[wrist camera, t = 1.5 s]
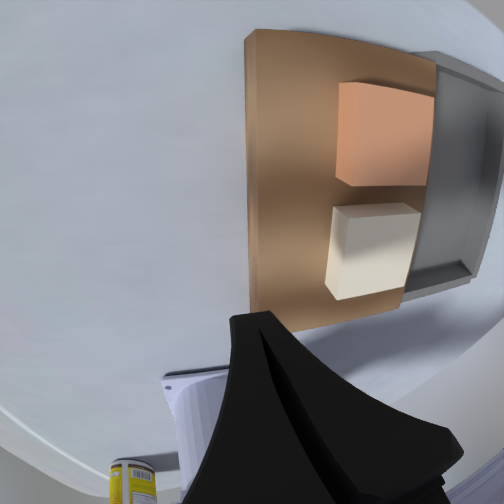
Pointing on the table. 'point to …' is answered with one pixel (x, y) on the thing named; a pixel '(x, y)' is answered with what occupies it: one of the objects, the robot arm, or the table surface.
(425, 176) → the tile terracotta
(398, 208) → the tile cream
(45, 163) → the table surface
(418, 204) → the plate
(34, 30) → the table surface
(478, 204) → the box
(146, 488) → the supplement bottle
